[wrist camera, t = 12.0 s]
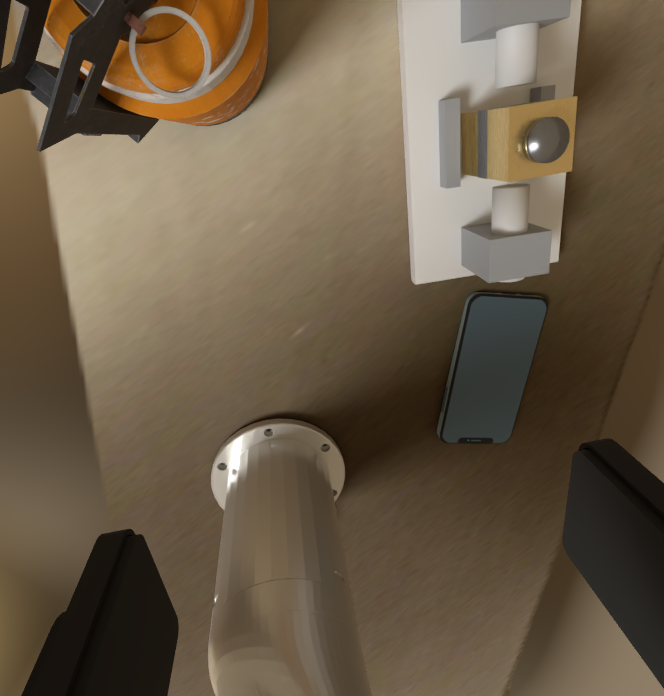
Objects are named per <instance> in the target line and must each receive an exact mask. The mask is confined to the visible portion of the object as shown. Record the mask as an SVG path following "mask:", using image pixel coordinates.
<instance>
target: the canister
mask: <svg viewBox="0 0 664 696" xmlns="http://www.w3.org/2000/svg"><path fill="white" fill-rule="evenodd" d="M16 1H18V2H19V3H21V4H23V5H25V6H26V9H25V12H24V16H23V20H22V24H21V27H20V31H19V35H18V39H17V42H16V46H15V50H14V54H13V57H12V61H11V63H10V64H8V65H7V66H5V67H3V68H1V65H2V58H3V51H4V43H5V38H6V31H7V24H8V17H9V10H10V4H11V0H0V94H3V93H6V92H9V91H12V90H15V89H24V90H29V91H30V93H31V94H32V95H33V96H34V97H35V98H37V99H38V100H39V101H41V102H42V103H43V104H44V105H46V106H47V107H48V112H47V115H46V119H45V122H44V126H43V130H42V133H41V137H40V140H39V144H38V148H37V150H38V151H39V152H40V151H42V150H44V149H46V148H48V147H50V146H52V145H54V144H56V143H58V142H60V141H62V140H64V139H66V138H68V137H70V136H72V135H74V134H76V133H81V134H82V135H91V136H93V135H94V136H101V135H102V134H120V135H129V136H130V137H131V138H132V139H133V140H135V141H136V142H137V143H139V142H140V141H141V140H142V138H143V137H144V136H145V135H146V134H147V133H148V132H149V131H150V129H151V128H152V127H153V126H154V125H155V124H156V123H157V122H158V120H159V119H164V120H169V121H174V122H180V123H185V124H191V125H196V126H211V125H218V124H221V123H224V122H227V121H230V120H231V119H233V118H235V117H237V116H238V115H240V114H241V113H242V112H243V111H245V110H246V109H247V108H248V107H249V105H250V104H251V103H252V102H253V101H254V99H255V97H256V96H257V94H258V93H259V91H260V88H261V86H262V84H263V81H264V77H265V74H266V70H267V61H268V0H16ZM43 30H44V32H45V33H46V35H47V37H48V38H49V39H50V40H51V41H52V43H53V44H54V45H55V46H56V47H57V49H58V51H59V52H60V54H61V55H62V57H63V58H62V62H61V65H60V69H59V68H56V67H53V66H50V65H47V64H44V63H41V62H39V61H36V56H37V52H38V49H39V45H40V41H41V37H42V34H43ZM157 118H158V119H157Z"/></svg>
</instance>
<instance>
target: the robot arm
mask: <svg viewBox="0 0 664 696" xmlns="http://www.w3.org/2000/svg"><path fill="white" fill-rule="evenodd" d="M344 480H345V465H344V461H343V457H342V454H341V452H340V449H339V447H338V446H337V444H336V443H335V442H334V440H333V439H332V438H331V437H330V436H329V435H328V434H327V433H326V432H324V431H323V430H321V429H319V428H318V427H316V426H314V425H312V424H309V423H306V422H304V421H299V420H294V419H270V420H263V421H260V422H257V423H253V424H251V425H249V426H247V427H245V428H242V429H240V430H239V431H237V432H236V433H235V434H233V435H232V436H231V437H229V438H228V440H227V441H226V442H225V443H224V444H223V445H222V446H221V448H220V449H219V451H218V453H217V455H216V457H215V460H214V463H213V466H212V473H211V487H212V491H213V494H214V497H215V499H216V500H217V502H218V504H219V505H220V507H221V508H222V509H223V510H224V518H223V527H222V535H221V544H220V552H219V561H218V570H217V578H216V587H215V595H214V604H213V612H212V621H211V629H210V637H209V646H208V665H209V674H210V679H211V683H212V687H213V690H214V693H215V695H216V696H372V692H371V688H370V683H369V679H368V675H367V671H366V666H365V661H364V656H363V652H362V647H361V642H360V637H359V631H358V626H357V620H356V614H355V609H354V603H353V598H352V593H351V587H350V582H349V576H348V571H347V566H346V560H345V555H344V549H343V544H342V538H341V533H340V528H339V522H338V517H337V511H336V506H335V501H336V500H337V498H338V497H339V495H340V493H341V491H342V488H343V485H344ZM563 545H564V548H565V551H566V553H567V554H568V556H569V557H570V559H571V560H572V562H573V563H574V565H575V566H576V567H577V569H578V570H579V572H580V573H581V574H582V576H583V577H584V578H585V580H586V581H587V583H588V584H589V585H590V587H591V588H592V590H593V591H594V592H595V594H596V595H597V597H598V598H599V599H600V601H601V602H602V603H603V605H604V606H605V608H606V609H607V610H608V612H609V613H610V615H611V616H612V617H613V619H614V620H615V621H616V623H617V624H618V626H619V627H620V628H621V630H622V631H623V633H624V634H625V635H626V637H627V638H628V639H629V641H630V642H631V644H632V645H633V646H634V648H635V649H636V651H637V652H638V653H639V655H640V656H641V658H642V659H643V660H644V662H645V663H646V664H647V666H648V667H649V669H650V670H651V671H652V673H653V674H654V675H655V677H656V678H657V680H658V681H659V683H660V684H661V685H662V687H663V688H664V483H663V482H662V481H660V480H659V479H658V478H657V477H656V476H655V475H653V474H652V473H651V472H650V471H649V470H648V469H646V468H645V467H644V466H643V465H642V464H641V463H640V462H638V461H637V460H636V459H635V458H634V457H633V456H632V455H630V454H629V453H628V452H627V451H626V450H625V449H624V448H622V447H621V446H620V445H619V444H618V443H617V442H615V441H614V440H612V439H602V440H597V441H592V442H587V443H582V444H581V445H580V447H579V450H578V451H576V452H575V453H574V455H573V460H572V468H571V475H570V483H569V491H568V499H567V507H566V515H565V522H564V530H563ZM177 639H178V618H177V615H176V613H175V610H174V608H173V606H172V603H171V601H170V598H169V596H168V594H167V591H166V589H165V586H164V584H163V582H162V579H161V577H160V575H159V572H158V570H157V567H156V565H155V563H154V560H153V558H152V555H151V553H150V551H149V548H148V546H147V543H146V541H145V539H144V537H143V535H141V534H139V535H135V533H134V531H133V530H131V529H126V530H121V531H115V532H110V533H105V534H101V535H100V536H99V537H98V539H97V540H96V543H95V545H94V547H93V550H92V552H91V554H90V557H89V559H88V561H87V564H86V566H85V568H84V571H83V573H82V575H81V578H80V580H79V583H78V585H77V587H76V589H75V592H74V594H73V596H72V599H71V601H70V604H69V606H68V608H67V611H65V612H63V613H62V614H61V615H60V616H59V617H58V618H57V619H56V621H55V622H54V624H53V626H52V628H51V630H50V632H49V634H48V637H47V639H46V642H45V644H44V646H43V648H42V650H41V653H40V655H39V657H38V659H37V662H36V664H35V666H34V668H33V671H32V673H31V675H30V678H29V680H28V682H27V684H26V686H25V689H24V691H23V693H22V695H21V696H167V694H168V689H169V683H170V678H171V672H172V667H173V661H174V655H175V650H176V644H177Z"/></svg>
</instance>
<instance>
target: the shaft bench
mask: <svg viewBox="0 0 664 696" xmlns="http://www.w3.org/2000/svg"><path fill="white" fill-rule="evenodd" d="M581 2H582V0H397V13H398V32H399V52H400V71H401V90H402V109H403V129H404V148H405V167H406V186H407V205H408V225H409V244H410V263H411V281H412V282H413V283H414V284H415V285H417V284H423V283H429V282H435V281H441V280H448V279H454V278H460V277H466V276H472V275H477V276H479V277H480V278H482V279H483V280H485V281H486V282H488V283H492V282H515V281H520V280H522V279H524V278H525V277H529V276H535V275H541V274H547V273H549V265H550V263H552V262H558V258H559V247H560V236H561V225H562V214H563V203H564V192H565V181H566V172H565V173H559V174H553V175H547V176H542V177H536V178H530V179H524V180H519V181H513V182H503V181H498V180H492V179H483V178H478V177H475V176H470V175H464V174H463V169H462V124H461V114H462V113H468V112H474V111H480V110H486V109H492V108H498V107H505V106H511V105H517V104H523V103H529V102H535V101H542V100H549V99H550V100H553V99H560V98H567V97H573V91H574V80H575V69H576V58H577V47H578V36H579V25H580V14H581Z"/></svg>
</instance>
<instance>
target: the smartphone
mask: <svg viewBox="0 0 664 696" xmlns="http://www.w3.org/2000/svg"><path fill="white" fill-rule="evenodd" d="M547 308H548V303H547V301H546V300H545V299H544V298H543V297H540V296H537V295H529V294H527V295H526V294H513V293H495V292H494V293H493V292H483V291H482V292H481V291H479V292H474V293H472V294H471V295H470V296H469V297H468V298H467V300H466V302H465V306H464V311H463V315H462V319H461V324H460V328H459V332H458V337H457V341H456V345H455V350H454V354H453V358H452V363H451V367H450V371H449V376H448V380H447V384H446V389H445V394H444V398H443V403H442V408H441V413H440V417H439V422H438V427H437V434H438V436H439V438H440V439H441V441H442V442H444V443H468V444H501V443H505V442H507V441H508V440H509V439H510V437H511V435H512V431H513V428H514V424H515V421H516V417H517V414H518V410H519V407H520V403H521V400H522V396H523V393H524V389H525V386H526V382H527V379H528V375H529V372H530V368H531V365H532V361H533V358H534V354H535V351H536V347H537V344H538V340H539V337H540V333H541V330H542V326H543V323H544V319H545V316H546V312H547Z"/></svg>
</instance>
